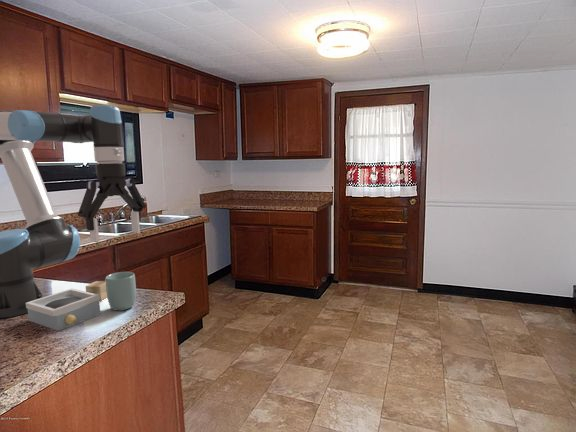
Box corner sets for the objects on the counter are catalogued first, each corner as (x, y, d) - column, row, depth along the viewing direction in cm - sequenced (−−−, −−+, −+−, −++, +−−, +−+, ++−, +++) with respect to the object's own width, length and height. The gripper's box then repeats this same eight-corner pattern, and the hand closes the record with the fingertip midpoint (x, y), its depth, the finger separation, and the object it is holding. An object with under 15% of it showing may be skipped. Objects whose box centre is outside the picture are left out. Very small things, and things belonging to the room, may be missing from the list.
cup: (126, 313, 110) (123, 280, 108) (102, 312, 111) (99, 279, 110) (142, 303, 117) (139, 272, 116) (119, 302, 119) (116, 271, 117)
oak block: (87, 301, 121) (85, 286, 120) (97, 295, 126) (95, 281, 125) (101, 302, 120) (100, 286, 119) (111, 296, 125) (109, 281, 124)
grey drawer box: (27, 321, 106) (24, 302, 105) (72, 305, 117) (70, 288, 117) (59, 332, 99) (56, 312, 98) (104, 314, 110) (102, 295, 109)
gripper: (75, 163, 95) (83, 247, 99) (154, 161, 117) (159, 230, 120) (57, 164, 99) (66, 244, 102) (137, 162, 120) (142, 228, 124)
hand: (116, 237), depth 111 cm, fingers open, 13 cm apart
